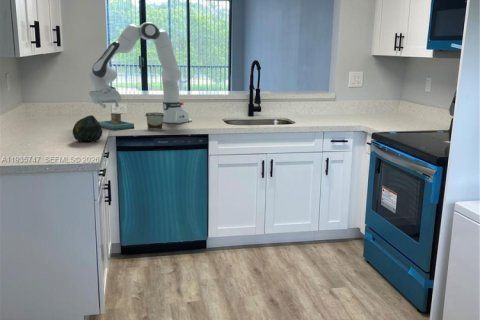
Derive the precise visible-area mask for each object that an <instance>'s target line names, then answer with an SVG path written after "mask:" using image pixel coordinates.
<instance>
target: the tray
mask: <svg viewBox="0 0 480 320" xmlns="http://www.w3.org/2000/svg"><path fill="white" fill-rule="evenodd" d="M98 122H99V124H100V125H101V127H102V128H104V127H105V129H108V128H109V129H110V130H114V131H118V130H119V131H121V130H127V129H128V130H129V129H134V128H135V123H134V122H129V121H123V120H121V125H113V124H111V119H110V120H102V121H101V120H100V121H98Z"/></svg>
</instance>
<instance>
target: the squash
mask: <svg viewBox="0 0 480 320" xmlns="http://www.w3.org/2000/svg"><path fill="white" fill-rule="evenodd" d="M72 135H73V137H74V139H75V141H78V142H88V141H89V142H93V141H94V142H97V141H98V140H100V139H101V137H102V136H103V127H101V125H100V124H99V121H98V120H97V118H96V117H95V116H94V115H86V116H85V117H83V118H81V119H79V120H77V121H76V122H75V124H74V125H73V128H72Z"/></svg>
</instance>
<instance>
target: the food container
mask: <svg viewBox="0 0 480 320" xmlns="http://www.w3.org/2000/svg"><path fill="white" fill-rule="evenodd" d="M163 116H164V114H163V112H157V111H156V112H147V113H145V117H146V123H147V129H148V130H163V127H164V125H163V123H164V122H163Z"/></svg>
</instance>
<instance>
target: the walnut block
mask: <svg viewBox="0 0 480 320" xmlns="http://www.w3.org/2000/svg"><path fill="white" fill-rule="evenodd" d="M121 114H122V113H121V112H112V113H110V117H111V118H110V120H111V124H113V125H121V121H122V115H121Z"/></svg>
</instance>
